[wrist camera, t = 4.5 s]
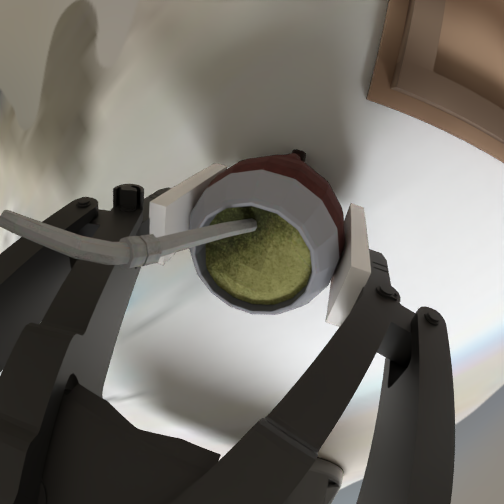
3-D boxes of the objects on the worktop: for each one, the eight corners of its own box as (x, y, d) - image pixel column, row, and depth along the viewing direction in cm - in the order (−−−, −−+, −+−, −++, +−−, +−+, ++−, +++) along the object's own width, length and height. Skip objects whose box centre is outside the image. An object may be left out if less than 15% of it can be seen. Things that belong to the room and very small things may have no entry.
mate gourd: (324, 262, 20) (272, 495, 7) (214, 226, 21) (63, 399, 8) (362, 154, 16) (410, 370, 3) (232, 119, 17) (-8, 209, 4)
